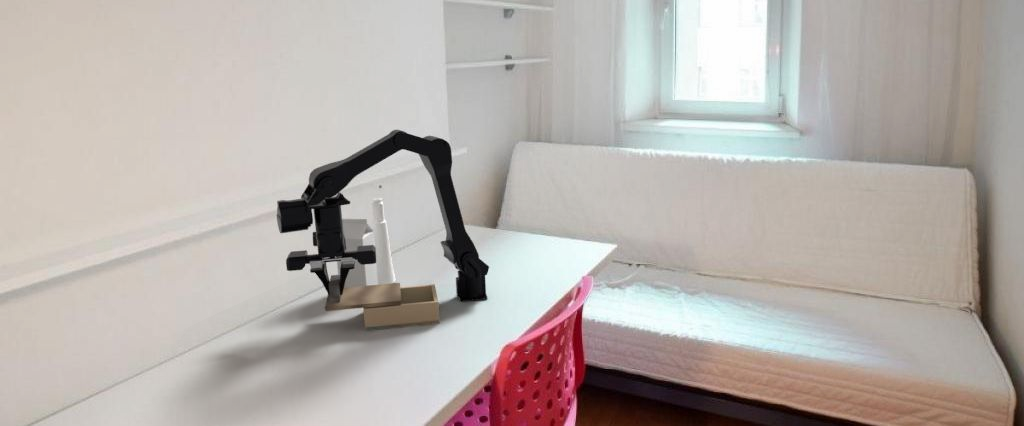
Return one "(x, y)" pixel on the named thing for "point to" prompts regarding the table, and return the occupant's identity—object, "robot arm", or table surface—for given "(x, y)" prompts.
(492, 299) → the table surface
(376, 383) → the table surface
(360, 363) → the table surface
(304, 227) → the robot arm
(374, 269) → the milk carton
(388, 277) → the cosmetic bottle
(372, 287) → the lid
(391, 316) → the box
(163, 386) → the table surface
